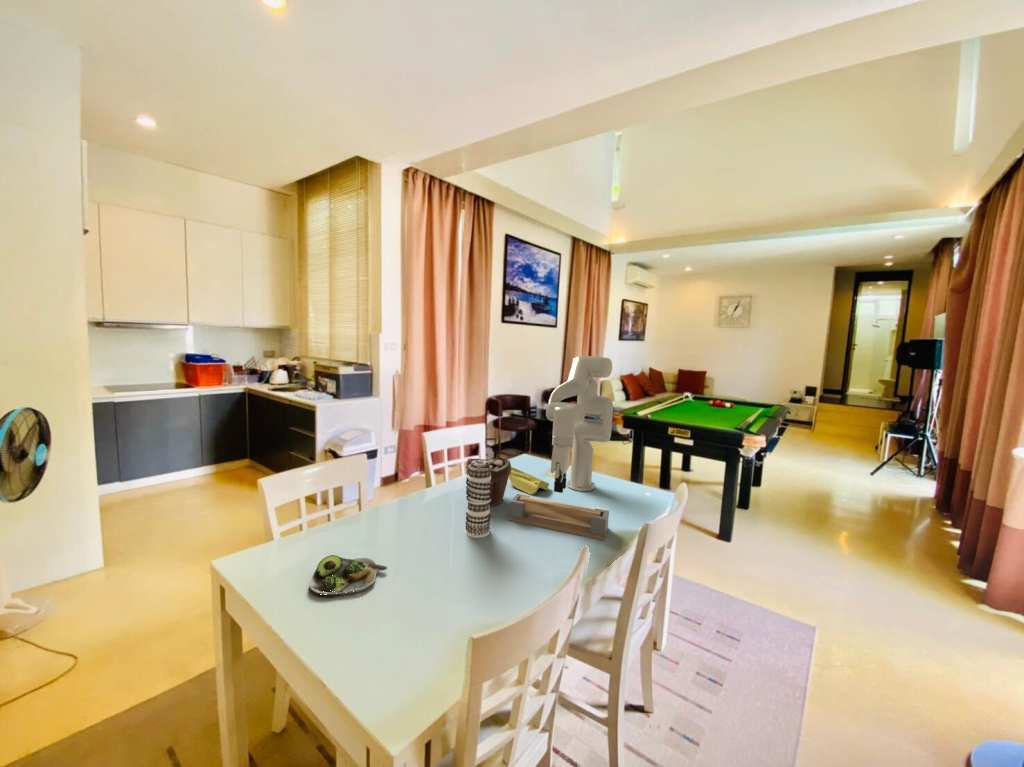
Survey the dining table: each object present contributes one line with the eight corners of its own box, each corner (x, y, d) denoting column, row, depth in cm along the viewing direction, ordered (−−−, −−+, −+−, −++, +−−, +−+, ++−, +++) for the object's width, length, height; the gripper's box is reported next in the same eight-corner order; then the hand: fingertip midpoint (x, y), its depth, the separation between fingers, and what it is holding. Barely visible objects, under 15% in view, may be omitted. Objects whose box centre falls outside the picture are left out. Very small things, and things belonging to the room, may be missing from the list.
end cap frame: (517, 510, 164) (518, 492, 163) (608, 528, 152) (609, 509, 151) (508, 520, 155) (509, 502, 154) (603, 540, 143) (605, 520, 142)
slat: (521, 508, 160) (521, 495, 159) (600, 524, 149) (601, 510, 149) (518, 511, 157) (518, 498, 156) (598, 527, 147) (599, 513, 146)
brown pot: (519, 497, 176) (520, 456, 174) (492, 514, 160) (493, 468, 158) (485, 488, 186) (485, 449, 184) (456, 502, 169) (456, 460, 167)
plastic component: (551, 484, 187) (539, 479, 180) (545, 500, 186) (533, 496, 179) (519, 470, 201) (506, 465, 193) (513, 484, 199) (500, 480, 192)
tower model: (458, 533, 143) (460, 463, 140) (473, 523, 151) (476, 456, 148) (481, 541, 139) (484, 468, 136) (495, 529, 147) (498, 461, 144)
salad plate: (388, 558, 127) (389, 543, 126) (384, 594, 110) (384, 578, 109) (320, 563, 123) (320, 548, 122) (304, 602, 105) (303, 585, 105)
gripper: (558, 434, 159) (555, 481, 161) (546, 444, 143) (543, 496, 145) (577, 437, 156) (574, 484, 158) (567, 447, 141) (564, 500, 143)
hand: (559, 489), depth 152 cm, fingers open, 3 cm apart
